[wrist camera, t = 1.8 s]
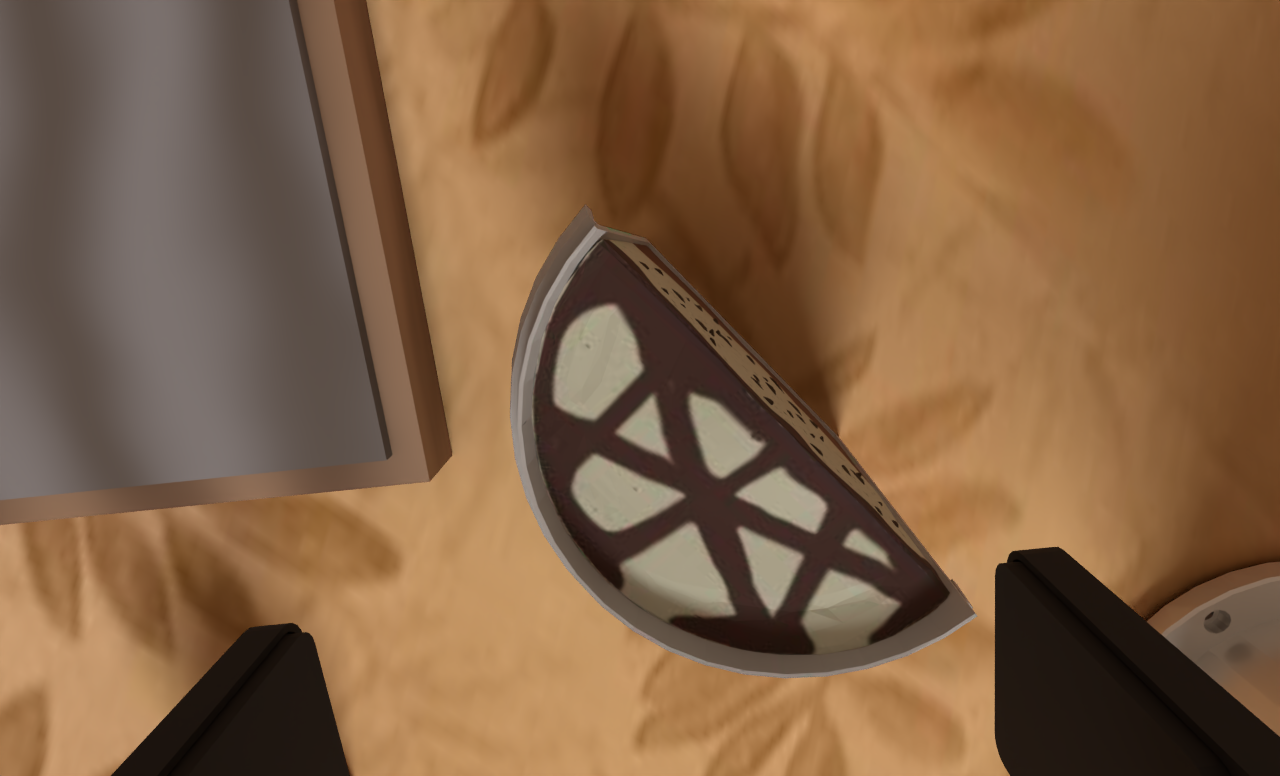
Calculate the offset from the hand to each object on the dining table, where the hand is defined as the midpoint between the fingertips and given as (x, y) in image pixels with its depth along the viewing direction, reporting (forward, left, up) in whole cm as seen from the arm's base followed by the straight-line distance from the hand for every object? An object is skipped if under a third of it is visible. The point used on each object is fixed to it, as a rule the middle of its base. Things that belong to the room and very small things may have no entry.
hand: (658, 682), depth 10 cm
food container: (0, 0, -16) cm, 16 cm away
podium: (+17, -8, -15) cm, 24 cm away
